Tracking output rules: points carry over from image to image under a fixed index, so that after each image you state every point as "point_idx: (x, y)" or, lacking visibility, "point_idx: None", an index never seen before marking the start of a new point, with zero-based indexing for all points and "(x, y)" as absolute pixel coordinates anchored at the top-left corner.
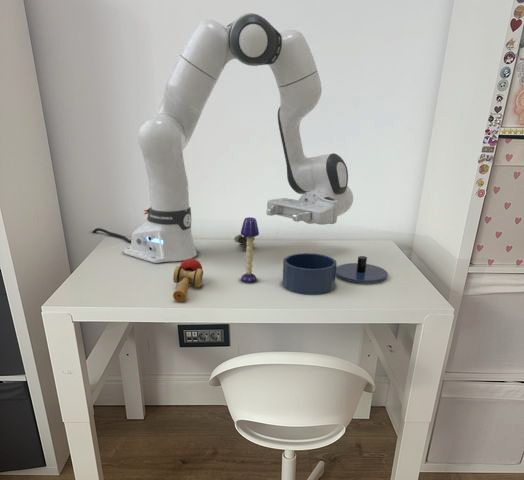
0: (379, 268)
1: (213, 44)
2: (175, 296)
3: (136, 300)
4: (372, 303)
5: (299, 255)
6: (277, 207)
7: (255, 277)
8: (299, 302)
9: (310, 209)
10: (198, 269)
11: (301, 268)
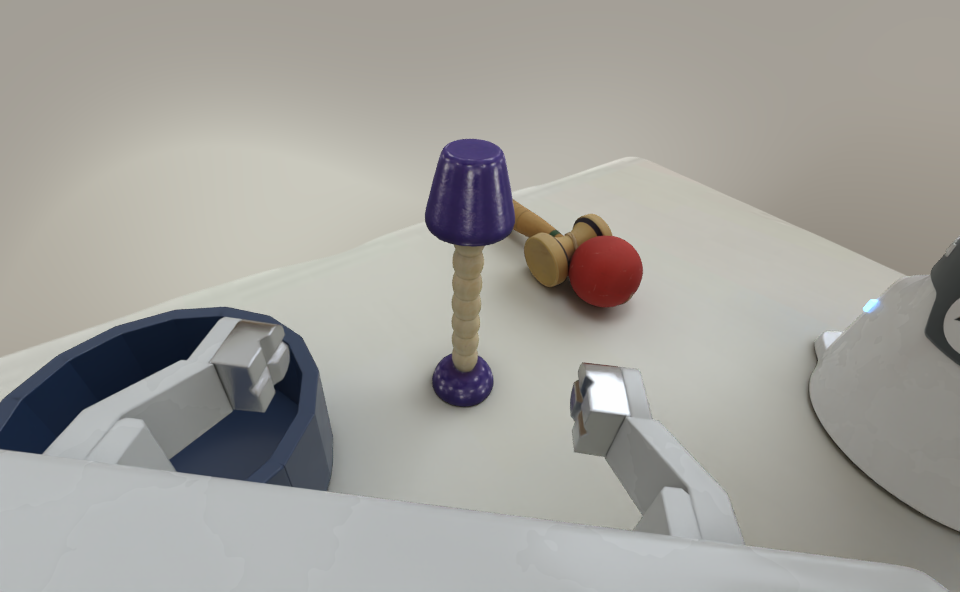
0: None
1: None
2: None
3: (570, 200)
4: None
5: (254, 475)
6: (659, 533)
7: (438, 379)
8: None
9: (33, 460)
10: (548, 236)
11: (191, 312)
